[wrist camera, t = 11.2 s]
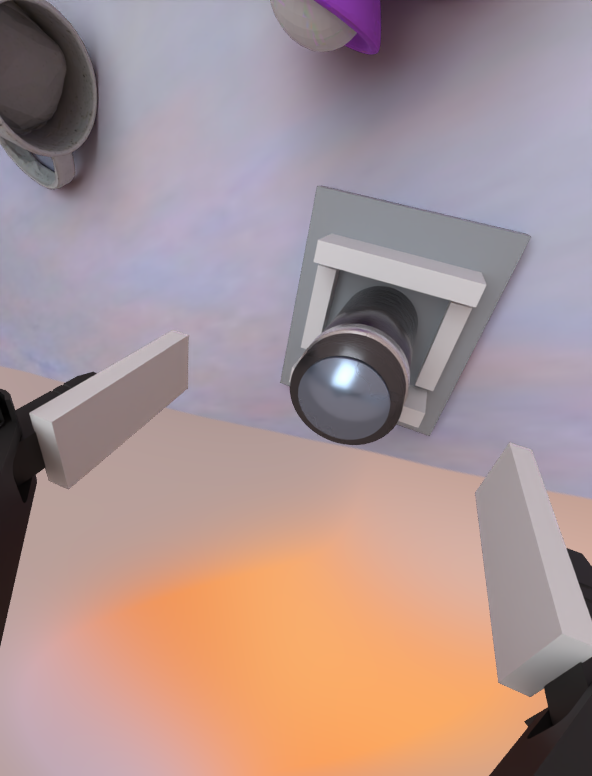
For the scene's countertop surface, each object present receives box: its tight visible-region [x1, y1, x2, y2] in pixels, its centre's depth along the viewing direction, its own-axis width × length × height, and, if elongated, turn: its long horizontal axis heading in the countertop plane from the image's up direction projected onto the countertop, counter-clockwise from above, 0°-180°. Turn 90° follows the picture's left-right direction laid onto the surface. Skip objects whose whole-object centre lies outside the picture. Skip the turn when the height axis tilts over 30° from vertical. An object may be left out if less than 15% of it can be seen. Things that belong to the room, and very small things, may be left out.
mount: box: [280, 186, 531, 436], centre depth 23 cm, size 12×14×4 cm
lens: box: [290, 286, 418, 445], centre depth 20 cm, size 5×5×10 cm
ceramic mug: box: [0, 0, 97, 190], centre depth 23 cm, size 11×8×8 cm
